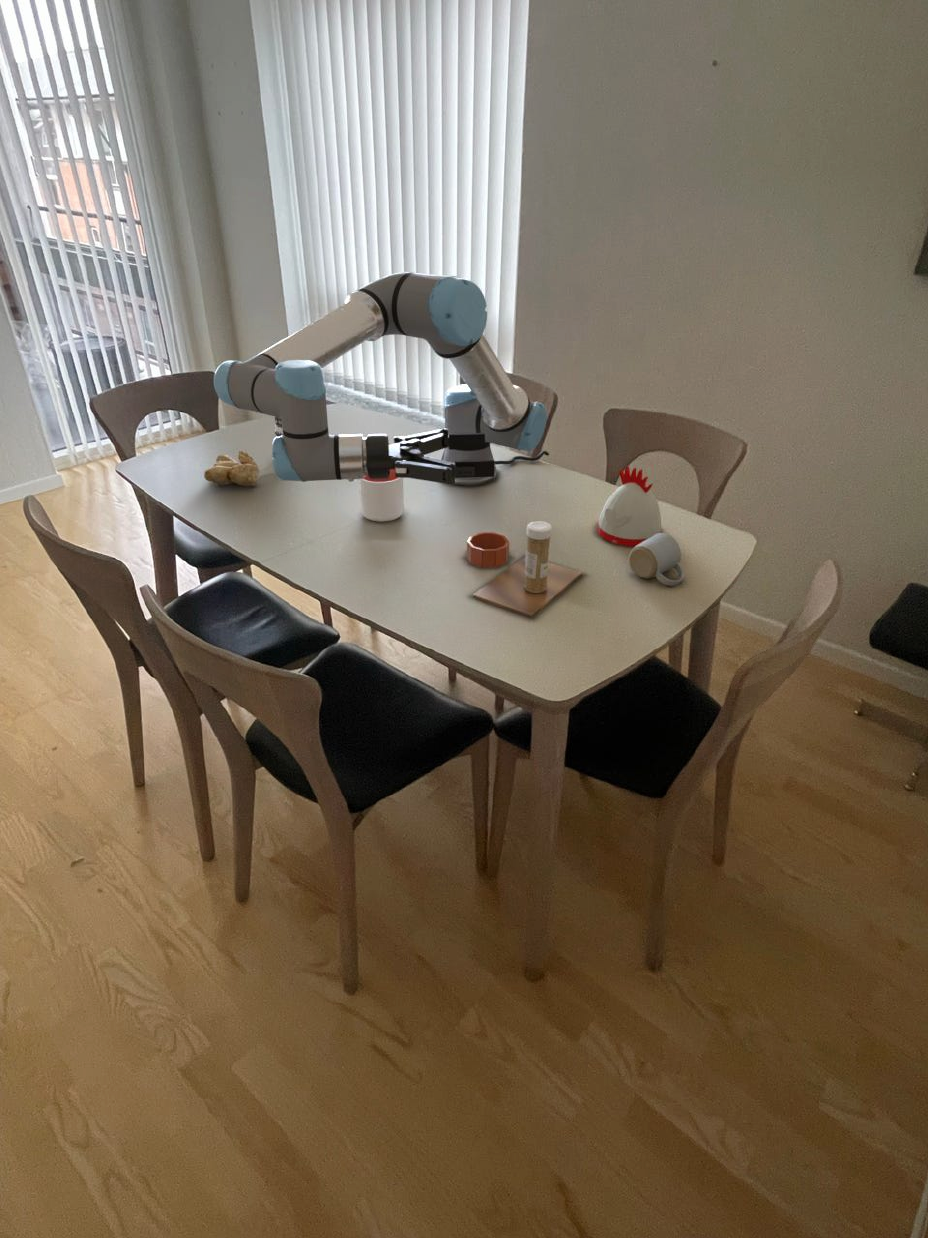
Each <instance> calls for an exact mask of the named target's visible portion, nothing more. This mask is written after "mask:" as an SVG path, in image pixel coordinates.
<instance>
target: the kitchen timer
mask: <svg viewBox="0 0 928 1238" xmlns="http://www.w3.org/2000/svg"><path fill="white" fill-rule="evenodd" d="M618 472H619V478H620V481H621V483H622V484H621V486H619V487H617V488H616V490H614V491H613V493H611V494H610V496H609V497H608V499H607V500H606V502H605V504H604V507H603V508H602V511H601V513H600V515H599V519H598V523H597V532H598V535H599V536H601V538H602V539H604V540H606V541H608V542H609V543H612V544H616V545H619V546H626V547H635V546H637V545H638V544H640V543H642V542H643V541H645V540H647V539H648V538H650V537H652V536H654V535H655V534H657V533H662V517H661V516H662V515H661V510H660V507H659V506H660V505H659V501H658V500H657V498H656V496H655V494H654V493H653V492H652V490H651V489H652V487H653V484H654V483H651V484H649V485H648V486H647V485H646V483H647V482H648V478H649V476H645V477H643V469H642V468H641V469H639V470H638V472H637V467H634V468H632V471H631V470H630V465H628V466H625V469H624V471H623V469H620V470H619V471H618Z"/></svg>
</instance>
